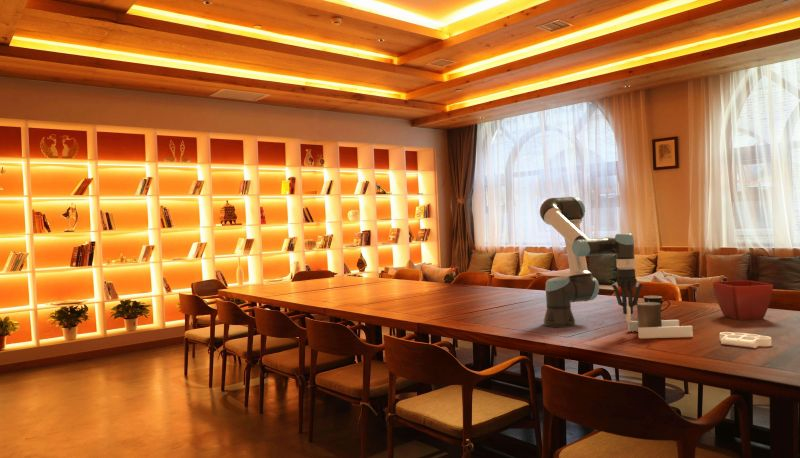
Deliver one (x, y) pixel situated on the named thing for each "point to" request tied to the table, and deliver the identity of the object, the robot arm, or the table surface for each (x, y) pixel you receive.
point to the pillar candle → (649, 314)
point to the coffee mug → (655, 300)
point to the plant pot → (743, 298)
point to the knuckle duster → (744, 339)
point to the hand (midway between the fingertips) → (628, 321)
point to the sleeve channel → (662, 330)
